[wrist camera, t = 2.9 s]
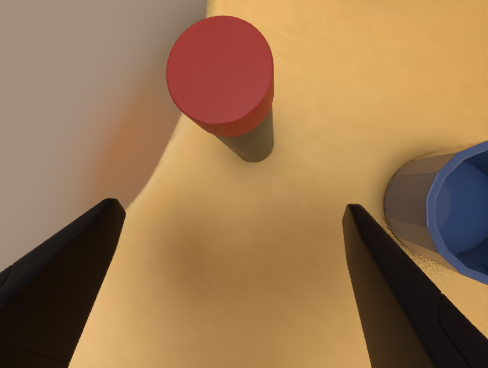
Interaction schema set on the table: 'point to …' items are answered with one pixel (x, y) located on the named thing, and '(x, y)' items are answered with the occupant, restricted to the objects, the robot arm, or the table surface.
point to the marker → (226, 83)
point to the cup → (444, 208)
